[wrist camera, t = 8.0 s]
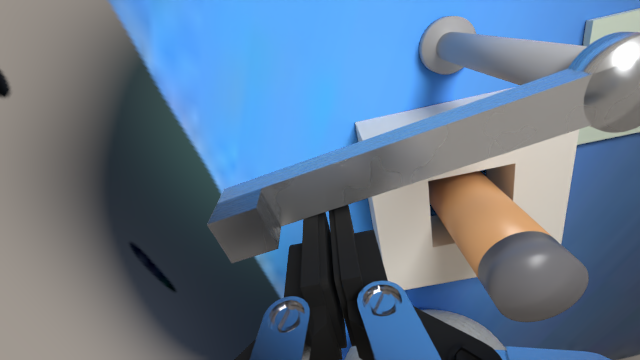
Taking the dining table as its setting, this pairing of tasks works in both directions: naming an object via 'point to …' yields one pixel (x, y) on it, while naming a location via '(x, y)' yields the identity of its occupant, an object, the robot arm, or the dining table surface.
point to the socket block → (504, 170)
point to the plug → (507, 249)
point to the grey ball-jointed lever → (437, 145)
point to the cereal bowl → (457, 322)
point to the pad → (593, 31)
